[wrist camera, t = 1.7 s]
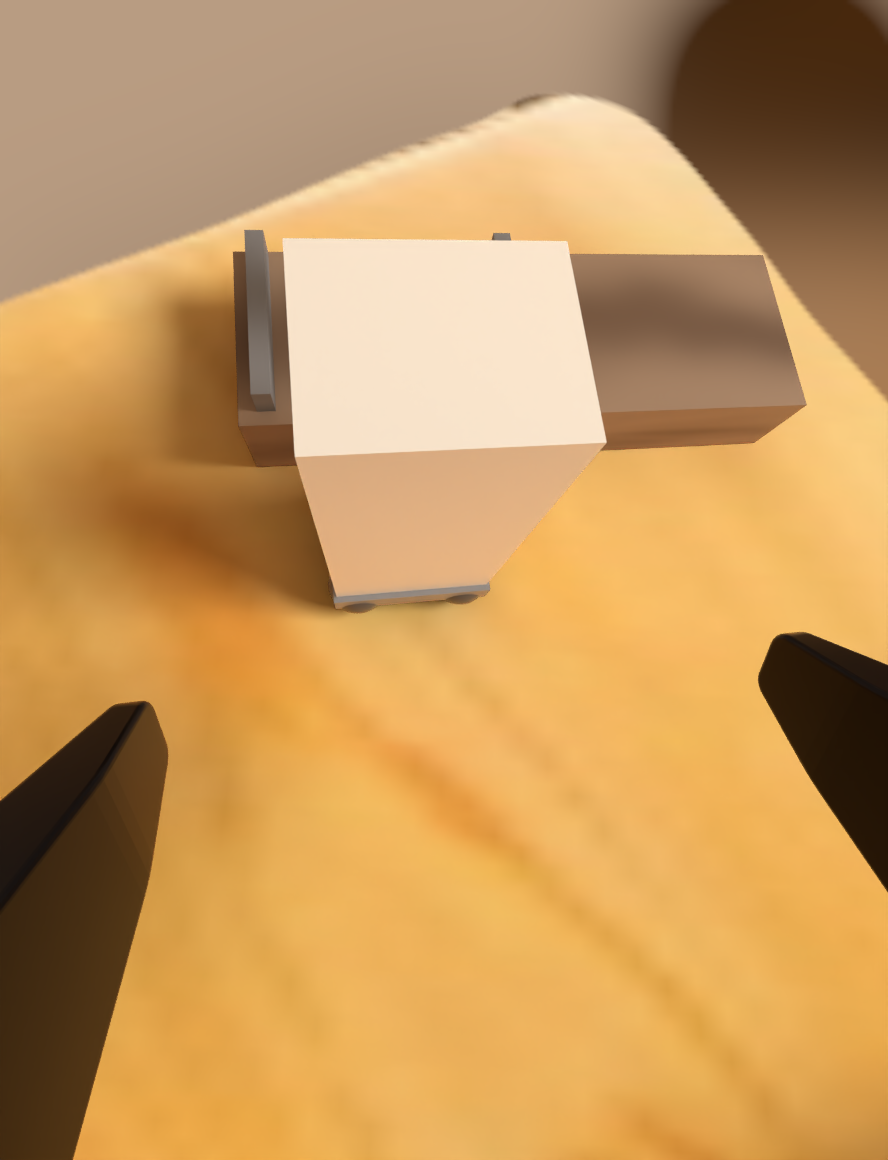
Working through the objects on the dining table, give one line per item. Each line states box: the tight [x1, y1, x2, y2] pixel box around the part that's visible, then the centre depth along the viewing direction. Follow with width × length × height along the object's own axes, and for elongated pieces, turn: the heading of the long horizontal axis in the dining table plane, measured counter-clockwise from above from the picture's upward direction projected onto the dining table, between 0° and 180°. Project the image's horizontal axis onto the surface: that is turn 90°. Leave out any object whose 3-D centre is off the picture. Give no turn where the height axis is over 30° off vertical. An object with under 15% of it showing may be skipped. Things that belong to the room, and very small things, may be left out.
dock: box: [233, 230, 807, 467], centre depth 21 cm, size 7×21×4 cm, turn 97°
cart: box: [283, 238, 607, 613], centre depth 15 cm, size 5×6×12 cm
